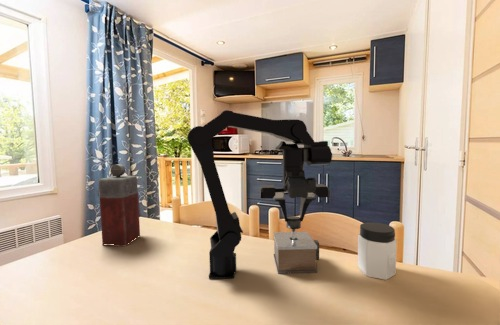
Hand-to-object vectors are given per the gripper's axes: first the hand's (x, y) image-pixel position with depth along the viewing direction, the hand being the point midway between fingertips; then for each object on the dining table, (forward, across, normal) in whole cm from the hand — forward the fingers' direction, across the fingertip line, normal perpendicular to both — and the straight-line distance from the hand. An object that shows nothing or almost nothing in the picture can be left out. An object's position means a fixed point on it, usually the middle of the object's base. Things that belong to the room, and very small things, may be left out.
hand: (293, 221), depth 69 cm
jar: (+13, +21, -5) cm, 25 cm away
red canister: (+13, -59, +21) cm, 64 cm away
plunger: (+11, 0, 0) cm, 11 cm away
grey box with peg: (+12, 0, 0) cm, 12 cm away
